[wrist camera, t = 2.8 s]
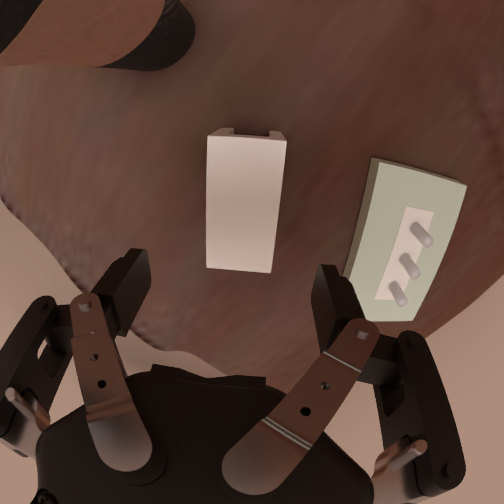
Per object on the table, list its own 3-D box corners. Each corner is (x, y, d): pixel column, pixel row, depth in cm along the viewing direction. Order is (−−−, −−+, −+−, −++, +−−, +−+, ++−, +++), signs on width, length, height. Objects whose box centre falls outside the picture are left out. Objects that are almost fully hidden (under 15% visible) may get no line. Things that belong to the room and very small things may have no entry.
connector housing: (222, 127, 22) (207, 135, 16) (280, 131, 22) (286, 141, 16) (218, 230, 27) (206, 267, 21) (269, 234, 27) (270, 273, 21)
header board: (371, 157, 22) (394, 171, 18) (456, 180, 22) (484, 197, 18) (331, 308, 31) (339, 339, 27) (407, 310, 31) (420, 337, 27)
